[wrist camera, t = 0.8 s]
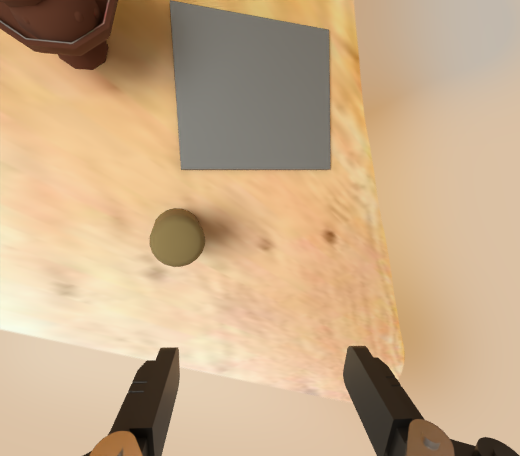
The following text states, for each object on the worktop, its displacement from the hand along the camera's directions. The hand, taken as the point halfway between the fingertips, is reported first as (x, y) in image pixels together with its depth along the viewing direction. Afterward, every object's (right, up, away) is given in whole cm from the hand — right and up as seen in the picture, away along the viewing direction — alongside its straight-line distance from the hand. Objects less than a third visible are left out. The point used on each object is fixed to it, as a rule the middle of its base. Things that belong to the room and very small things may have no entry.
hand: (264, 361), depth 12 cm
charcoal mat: (0, +25, +24) cm, 34 cm away
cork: (-11, +6, +23) cm, 26 cm away
